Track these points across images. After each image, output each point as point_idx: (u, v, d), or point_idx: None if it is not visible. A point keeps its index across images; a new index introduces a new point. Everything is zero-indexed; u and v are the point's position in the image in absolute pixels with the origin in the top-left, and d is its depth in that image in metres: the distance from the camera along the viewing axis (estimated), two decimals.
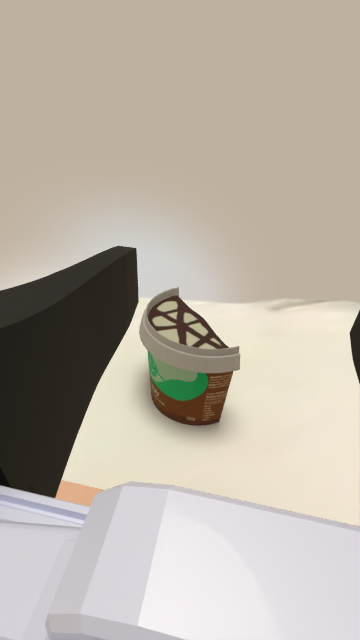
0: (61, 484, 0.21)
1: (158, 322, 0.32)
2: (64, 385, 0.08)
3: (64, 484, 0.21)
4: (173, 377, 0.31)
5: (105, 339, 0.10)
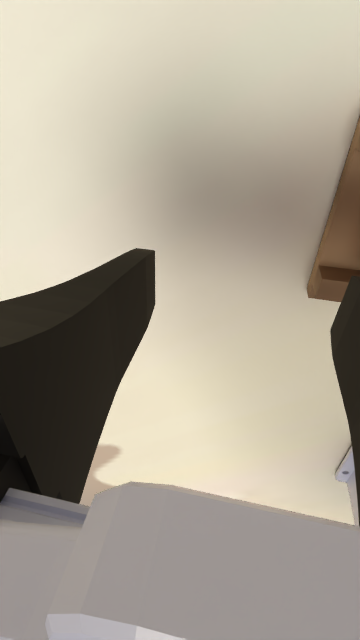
0: None
1: None
2: (90, 390, 0.08)
3: None
4: None
5: (125, 342, 0.10)
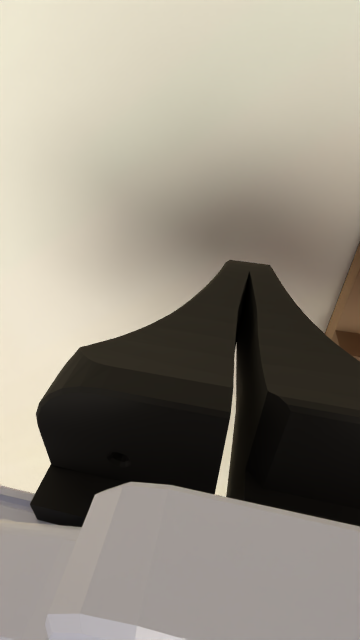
0: None
1: None
2: None
3: None
4: None
5: None
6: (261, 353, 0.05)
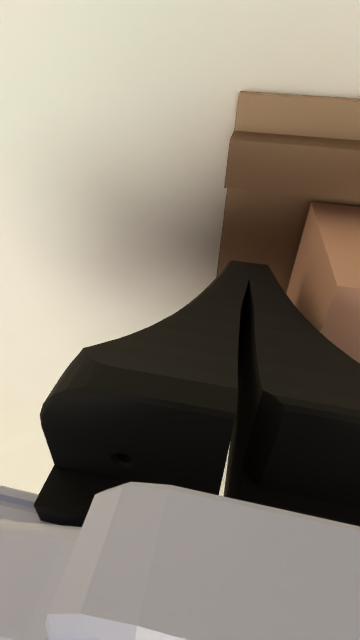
0: (338, 297, 0.07)
1: None
2: None
3: (348, 297, 0.07)
4: None
5: None
6: (257, 352, 0.05)
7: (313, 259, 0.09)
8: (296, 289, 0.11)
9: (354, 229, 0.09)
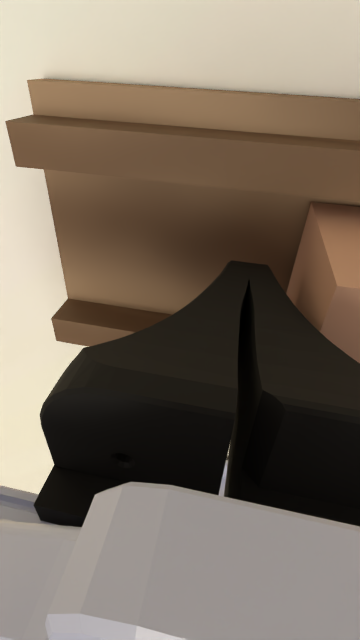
0: (338, 297, 0.07)
1: None
2: None
3: (348, 297, 0.07)
4: None
5: None
6: (257, 352, 0.05)
7: (313, 259, 0.09)
8: (296, 289, 0.11)
9: (354, 230, 0.09)
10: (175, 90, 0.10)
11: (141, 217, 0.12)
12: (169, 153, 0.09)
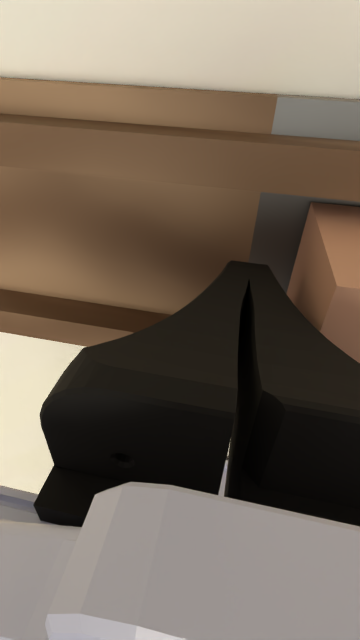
0: (337, 297, 0.07)
1: None
2: None
3: (348, 297, 0.07)
4: None
5: None
6: (257, 352, 0.05)
7: (313, 259, 0.09)
8: (296, 289, 0.11)
9: (354, 230, 0.09)
10: (58, 84, 0.10)
11: (48, 207, 0.13)
12: (47, 144, 0.10)
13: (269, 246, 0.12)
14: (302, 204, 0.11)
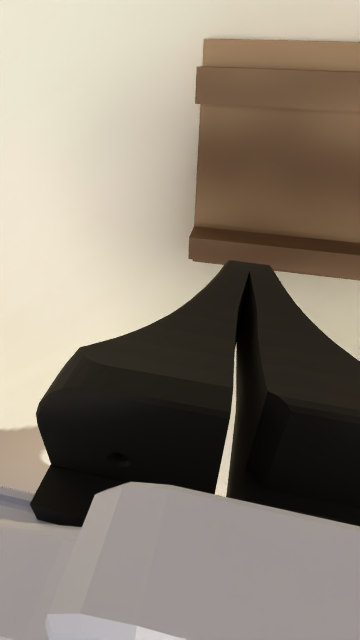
0: None
1: None
2: None
3: None
4: None
5: None
6: (261, 353, 0.05)
7: None
8: None
9: None
10: (320, 42, 0.13)
11: (273, 148, 0.16)
12: (322, 86, 0.13)
13: None
14: None
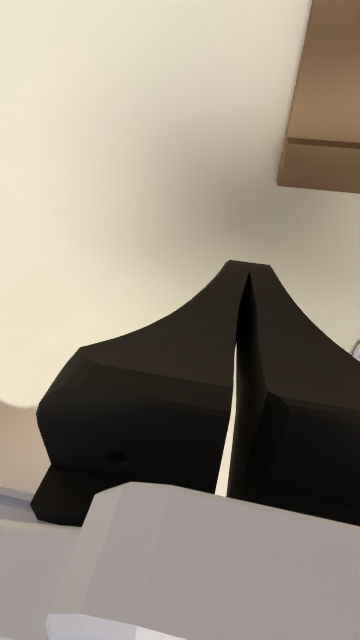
0: None
1: None
2: None
3: None
4: None
5: None
6: (261, 353, 0.05)
7: None
8: None
9: None
10: None
11: None
12: None
13: None
14: None
